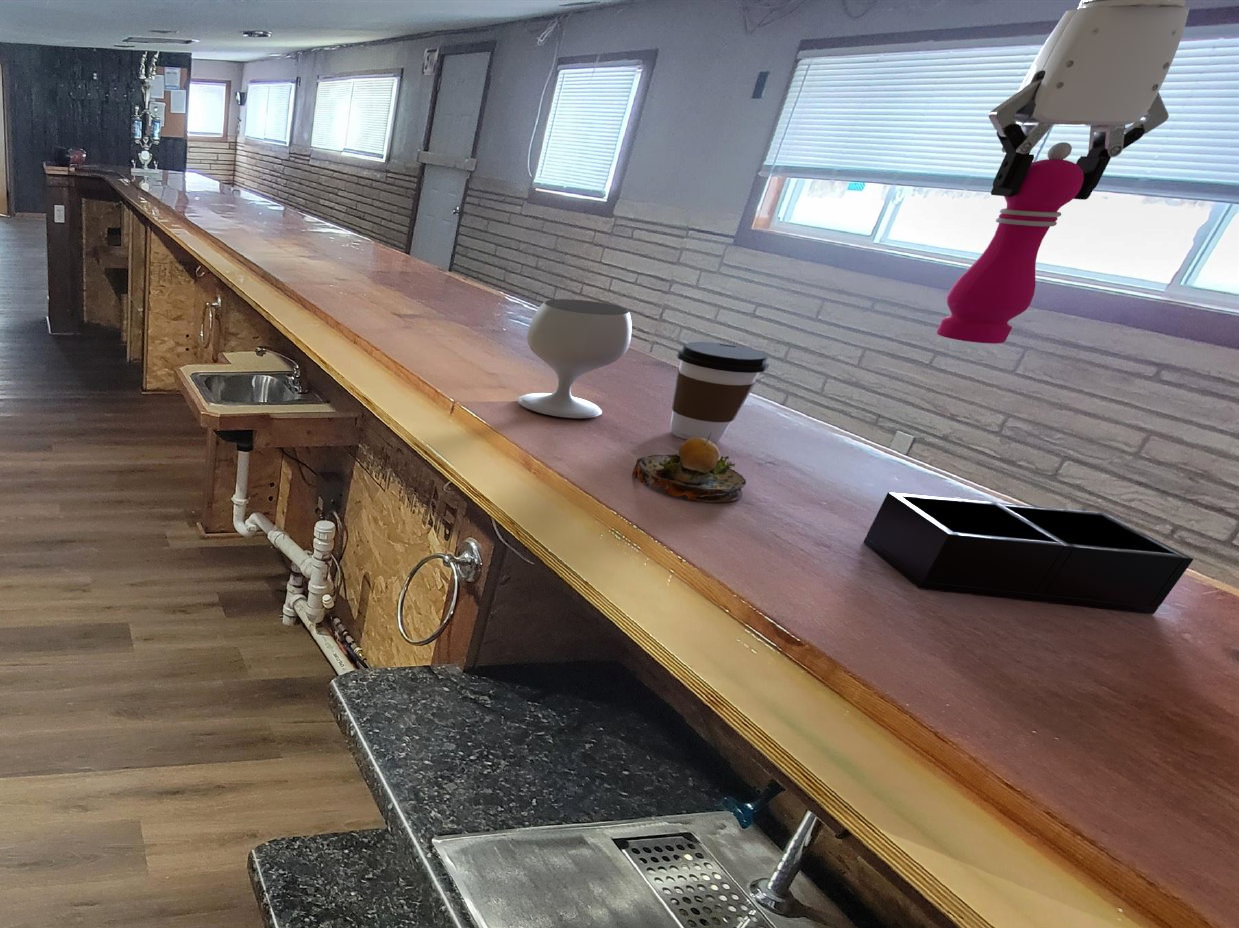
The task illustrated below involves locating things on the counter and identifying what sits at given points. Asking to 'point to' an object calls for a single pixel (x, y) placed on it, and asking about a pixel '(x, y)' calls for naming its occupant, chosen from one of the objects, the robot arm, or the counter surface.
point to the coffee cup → (712, 387)
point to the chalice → (575, 349)
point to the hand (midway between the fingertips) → (1038, 195)
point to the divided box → (1024, 553)
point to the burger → (692, 472)
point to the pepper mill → (1011, 253)
